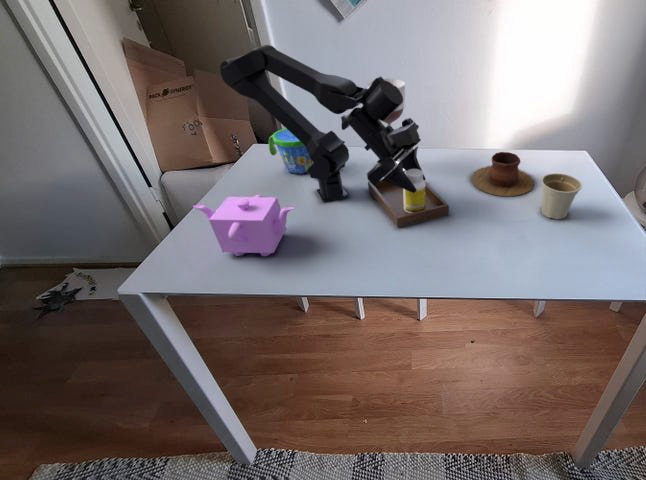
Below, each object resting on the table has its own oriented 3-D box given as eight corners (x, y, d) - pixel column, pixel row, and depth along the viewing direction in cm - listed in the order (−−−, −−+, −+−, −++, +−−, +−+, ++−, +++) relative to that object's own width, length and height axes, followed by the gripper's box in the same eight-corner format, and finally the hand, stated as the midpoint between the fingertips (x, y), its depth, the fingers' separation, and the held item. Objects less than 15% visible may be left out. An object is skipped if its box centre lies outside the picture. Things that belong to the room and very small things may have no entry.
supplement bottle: (429, 212, 95) (429, 175, 89) (408, 216, 93) (407, 179, 87) (420, 201, 99) (420, 165, 93) (400, 205, 97) (398, 169, 91)
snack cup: (334, 165, 114) (328, 131, 107) (314, 181, 106) (306, 145, 100) (288, 157, 117) (280, 123, 111) (265, 172, 110) (255, 136, 103)
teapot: (278, 219, 92) (266, 177, 85) (305, 245, 84) (293, 202, 77) (210, 244, 84) (189, 200, 77) (232, 275, 76) (212, 230, 69)
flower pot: (580, 213, 98) (589, 182, 93) (560, 228, 93) (569, 196, 87) (548, 199, 103) (554, 169, 97) (528, 213, 98) (534, 181, 92)
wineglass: (414, 165, 116) (412, 82, 101) (393, 178, 109) (387, 91, 95) (390, 157, 120) (385, 76, 105) (368, 169, 113) (359, 84, 98)
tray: (368, 190, 104) (367, 181, 102) (415, 180, 109) (414, 171, 107) (397, 227, 91) (397, 218, 89) (448, 214, 96) (449, 205, 94)
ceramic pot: (547, 186, 109) (552, 162, 104) (498, 203, 101) (501, 178, 96) (505, 162, 120) (508, 139, 115) (458, 175, 112) (459, 152, 107)
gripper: (375, 124, 75) (428, 186, 80) (412, 97, 89) (455, 151, 93) (344, 156, 82) (395, 212, 87) (383, 126, 95) (425, 175, 100)
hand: (419, 186), depth 92 cm, fingers closed on supplement bottle, 5 cm apart
